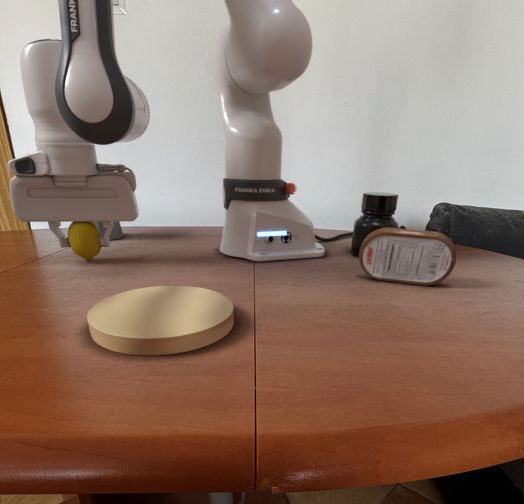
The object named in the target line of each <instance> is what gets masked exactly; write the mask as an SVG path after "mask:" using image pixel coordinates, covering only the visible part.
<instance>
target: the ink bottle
mask: <svg viewBox="0 0 524 504" xmlns="http://www.w3.org/2000/svg"><path fill="white" fill-rule="evenodd" d="M398 200H399V194H397V193H392V192H376V191H375V192H373V191H371V192H370V191H369V192H368V191H367V192H363V193H362V200H361V205H360V206H361V207H360V209H361V210H360V212H361V214H362V215H360V216H359V217H357V219H355V220H354V223H353V228H352V232H353V235H352V237H351V243H350V252H351V254H352V255H354V256H357V257H359V253H360V248H361V245H362V243H363V241H364V239H365V238H366V237H367V236H368V235H369V234H370V233H372V232H373V231H375V230H377V229H381V228H399V223H398V221H397V220H395V219H396V218H395V217H394V215H395V214H396V211H397V205H398Z"/></svg>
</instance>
